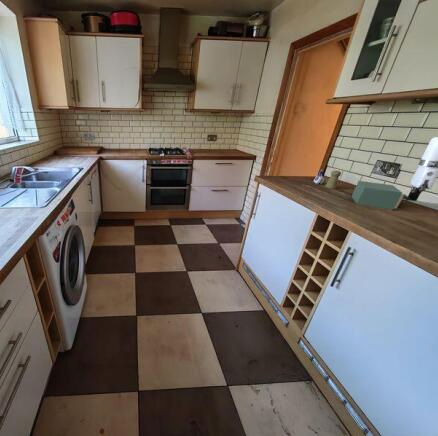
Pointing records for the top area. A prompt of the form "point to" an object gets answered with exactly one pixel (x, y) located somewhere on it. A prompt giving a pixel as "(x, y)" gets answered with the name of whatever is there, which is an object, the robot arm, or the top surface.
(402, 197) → the drawer
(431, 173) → the robot arm
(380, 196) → the green faceted block
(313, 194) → the top surface
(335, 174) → the beige upright figurine
